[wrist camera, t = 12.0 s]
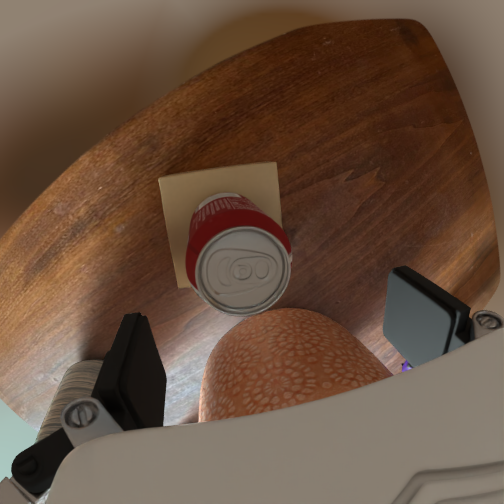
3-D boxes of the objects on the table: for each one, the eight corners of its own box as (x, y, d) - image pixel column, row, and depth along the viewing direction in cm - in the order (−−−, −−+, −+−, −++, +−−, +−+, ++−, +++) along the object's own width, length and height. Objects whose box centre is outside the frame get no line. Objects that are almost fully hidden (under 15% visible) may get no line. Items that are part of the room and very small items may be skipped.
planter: (234, 259, 34) (273, 368, 16) (370, 312, 39) (455, 397, 21) (173, 389, 38) (172, 508, 20) (298, 416, 44) (338, 510, 26)
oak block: (163, 175, 30) (158, 178, 26) (267, 161, 31) (276, 161, 27) (180, 274, 33) (178, 289, 29) (276, 258, 35) (286, 271, 31)
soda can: (187, 193, 27) (178, 219, 16) (260, 189, 28) (302, 212, 17) (192, 263, 29) (190, 330, 18) (261, 258, 30) (299, 319, 19)
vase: (148, 413, 39) (140, 549, 17) (78, 404, 36) (43, 526, 15) (141, 354, 35) (115, 516, 14) (61, 344, 33) (-4, 479, 12)
